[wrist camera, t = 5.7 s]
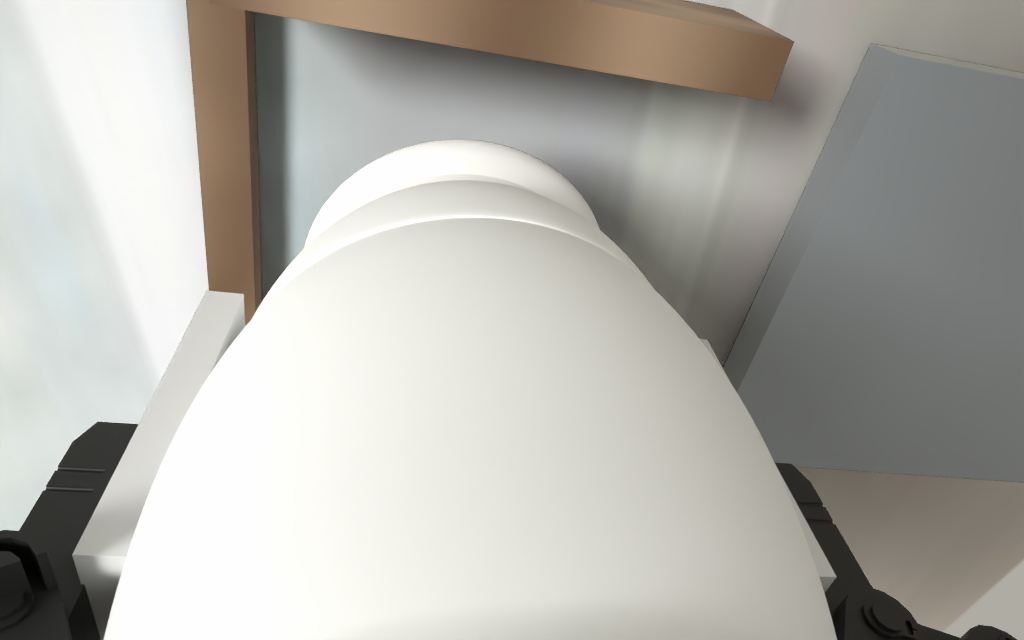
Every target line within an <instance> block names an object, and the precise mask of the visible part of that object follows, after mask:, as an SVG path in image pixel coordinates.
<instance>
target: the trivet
mask: <svg viewBox="0 0 1024 640" xmlns="http://www.w3.org/2000/svg"><path fill="white" fill-rule="evenodd" d="M723 369H724V371H725V373H726V375H727V377H728V379H729V380H730V382H731V384H732V386H733V387H734V389H735V390H736V392H737V394H738V395H739V397H740V399H741V400H742V402H743V404H744V405H745V407H746V409H747V410H748V412H749V414H750V416H751V418H752V419H753V421H754V423H755V425H756V427H757V429H758V430H759V432H760V434H761V436H762V438H763V440H764V442H765V444H766V446H767V448H768V450H769V452H770V454H771V456H772V458H773V461H774V463H788V464H792V465H793V466H794V467H807V468H821V469H836V470H850V471H865V472H879V473H893V474H908V475H922V476H937V477H951V478H966V479H980V480H994V481H1009V482H1023V483H1024V73H1021V72H1016V71H1011V70H1006V69H1001V68H996V67H991V66H985V65H980V64H975V63H970V62H965V61H960V60H955V59H950V58H945V57H940V56H934V55H929V54H924V53H919V52H914V51H909V50H904V49H899V48H894V47H889V46H883V45H878V44H873V43H871V44H870V47H869V49H868V51H867V53H866V55H865V58H864V60H863V62H862V64H861V66H860V69H859V71H858V73H857V75H856V77H855V80H854V82H853V84H852V86H851V88H850V91H849V93H848V95H847V97H846V99H845V101H844V104H843V106H842V108H841V110H840V112H839V115H838V117H837V119H836V121H835V123H834V126H833V128H832V130H831V132H830V134H829V137H828V139H827V141H826V143H825V145H824V148H823V150H822V152H821V154H820V156H819V159H818V161H817V163H816V165H815V167H814V169H813V172H812V174H811V176H810V178H809V180H808V183H807V185H806V187H805V189H804V191H803V194H802V196H801V198H800V200H799V202H798V205H797V207H796V209H795V211H794V213H793V216H792V218H791V220H790V222H789V224H788V227H787V229H786V231H785V233H784V235H783V238H782V240H781V242H780V244H779V246H778V248H777V251H776V253H775V255H774V257H773V259H772V262H771V264H770V266H769V268H768V270H767V273H766V275H765V277H764V279H763V281H762V284H761V286H760V288H759V290H758V292H757V295H756V297H755V299H754V301H753V303H752V306H751V308H750V310H749V312H748V314H747V316H746V319H745V321H744V323H743V325H742V327H741V330H740V332H739V334H738V336H737V338H736V341H735V343H734V345H733V347H732V349H731V352H730V354H729V356H728V358H727V360H726V363H725V365H724V367H723Z"/></svg>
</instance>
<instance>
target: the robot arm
mask: <svg viewBox="0 0 1024 640" xmlns="http://www.w3.org/2000/svg"><path fill="white" fill-rule="evenodd" d="M244 328H245V311H244V294H238V293H227V292H217V291H206V293H205V295H204V297H203V299H202V300H201V302H200V304H199V306H198V308H197V310H196V312H195V314H194V316H193V318H192V320H191V322H190V324H189V326H188V328H187V330H186V332H185V334H184V336H183V338H182V340H181V342H180V344H179V346H178V348H177V350H176V352H175V354H174V356H173V358H172V359H171V361H170V363H169V365H168V367H167V369H166V371H165V373H164V375H163V377H162V379H161V381H160V383H159V385H158V387H157V389H156V391H155V393H154V395H153V397H152V399H151V401H150V403H149V405H148V407H147V409H146V411H145V413H144V415H143V417H142V418H141V420H140V422H139V424H125V423H108V422H97V423H96V424H95V425H93V426H92V427H91V428H90V429H88V430H87V431H86V432H85V433H83V434H82V435H81V436H80V437H78V438H77V439H76V440H75V441H73V442H72V444H71V446H70V447H69V449H68V451H67V452H66V454H65V456H64V457H63V459H62V461H61V462H60V464H59V466H58V470H57V471H55V472H54V474H53V475H52V477H51V479H50V480H49V482H48V484H47V485H46V490H45V491H43V492H42V494H41V495H40V497H39V499H38V500H37V502H36V504H35V505H34V507H33V509H32V510H31V512H30V514H29V515H28V517H27V519H26V520H25V522H24V524H23V525H22V527H21V529H20V530H19V531H10V530H3V531H0V640H104V636H105V632H106V628H107V624H108V620H109V616H110V612H111V608H112V604H113V601H114V597H115V594H116V590H117V586H118V583H119V580H120V576H121V573H122V569H123V566H124V563H125V560H126V557H127V553H128V550H129V547H130V544H131V541H132V538H133V535H134V532H135V529H136V526H137V524H138V521H139V518H140V515H141V513H142V510H143V507H144V505H145V502H146V499H147V497H148V494H149V492H150V489H151V487H152V484H153V482H154V480H155V477H156V475H157V472H158V470H159V468H160V466H161V463H162V461H163V459H164V457H165V455H166V453H167V450H168V448H169V446H170V444H171V442H172V440H173V438H174V436H175V434H176V432H177V430H178V428H179V426H180V424H181V422H182V421H183V419H184V417H185V415H186V413H187V411H188V410H189V408H190V406H191V404H192V403H193V401H194V399H195V397H196V396H197V394H198V392H199V391H200V389H201V387H202V386H203V384H204V383H205V381H206V379H207V378H208V376H209V375H210V373H211V372H212V370H213V369H214V367H215V366H216V364H217V363H218V361H219V360H220V359H221V357H222V356H223V354H224V353H225V352H226V350H227V349H228V348H229V346H230V345H231V344H232V342H233V341H234V340H235V339H236V337H237V336H238V335H239V334H240V332H241V331H242V330H243V329H244ZM700 340H701V342H702V343H703V344H704V346H705V347H706V348H707V349H708V351H709V352H710V354H711V355H712V356H713V358H714V359H715V360H716V362H717V363H718V365H719V366H720V368H721V369H722V370H723V372H724V373H725V371H724V369H723V368H722V366H721V364H720V362H719V360H718V358H717V357H716V355H715V353H714V351H713V349H712V347H711V346H710V344H709V342H708V340H707V339H700ZM725 375H726V373H725ZM726 376H727V375H726ZM727 378H728V377H727ZM729 381H730V380H729ZM730 383H731V382H730ZM775 465H776V467H777V469H778V471H779V474H780V476H781V478H782V480H783V483H784V485H785V487H786V490H787V492H788V494H789V497H790V499H791V502H792V504H793V506H794V509H795V511H796V514H797V517H798V519H799V522H800V524H801V527H802V529H803V532H804V535H805V537H806V540H807V543H808V546H809V548H810V551H811V554H812V557H813V560H814V563H815V566H816V569H817V572H818V575H819V578H820V581H821V584H822V587H823V590H824V593H825V597H826V600H827V603H828V607H829V610H830V614H831V618H832V621H833V625H834V629H835V633H836V637H837V640H1017V639H1015V638H1013V637H1012V636H1011V635H1009V634H1008V633H1006V632H1004V631H1001V630H999V629H997V628H994V627H992V626H983V625H978V626H976V627H973V628H971V629H970V630H969V631H968V632H966V633H965V634H964V635H963V636H962V637H961V638H959V637H956V636H952V635H950V634H946V633H944V632H941V631H938V630H935V629H932V628H929V627H925V626H922V625H920V624H917V622H916V621H915V619H914V618H913V616H912V615H911V613H910V612H909V611H908V610H907V609H906V608H905V607H904V606H903V605H902V604H900V603H899V602H898V601H897V600H896V599H894V598H892V597H891V596H889V595H887V594H886V593H884V592H882V591H879V590H876V589H873V588H872V586H871V585H870V583H869V581H868V580H867V578H866V576H865V575H864V573H863V571H862V569H861V568H860V566H859V564H858V563H857V561H856V559H855V557H854V556H853V554H852V552H851V551H850V549H849V547H848V545H847V544H846V542H845V540H844V539H843V537H842V535H841V534H840V532H839V530H838V528H837V527H836V525H835V524H833V523H832V521H833V520H832V518H831V516H830V515H829V513H828V511H827V510H826V508H825V507H823V506H822V504H823V503H822V501H821V499H820V498H819V496H818V494H817V493H816V491H815V489H814V487H813V486H812V484H811V482H810V481H809V480H808V479H806V478H805V477H804V476H803V475H802V474H801V473H800V472H799V471H798V470H797V469H796V468H795V467H794V466H793V465H792V464H788V463H775Z"/></svg>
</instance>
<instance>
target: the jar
mask: <svg viewBox="0 0 1024 640" xmlns="http://www.w3.org/2000/svg"><path fill="white" fill-rule="evenodd" d="M104 640H837V637H836V633H835V629H834V625H833V621H832V618H831V614H830V610H829V607H828V603H827V600H826V597H825V593H824V590H823V587H822V584H821V581H820V578H819V575H818V572H817V569H816V566H815V563H814V560H813V557H812V554H811V551H810V548H809V546H808V543H807V540H806V537H805V535H804V532H803V529H802V527H801V524H800V522H799V519H798V517H797V514H796V511H795V509H794V506H793V504H792V502H791V499H790V497H789V494H788V492H787V490H786V487H785V485H784V483H783V480H782V478H781V476H780V474H779V471H778V469H777V467H776V465H775V463H774V461H773V458H772V456H771V454H770V452H769V450H768V448H767V446H766V444H765V442H764V440H763V438H762V436H761V434H760V432H759V430H758V429H757V427H756V425H755V423H754V421H753V419H752V418H751V416H750V414H749V412H748V410H747V409H746V407H745V405H744V404H743V402H742V400H741V399H740V397H739V395H738V394H737V392H736V390H735V389H734V387H733V386H732V384H731V383H730V381H729V379H728V378H727V376H726V375H725V373H724V372H723V370H722V369H721V368H720V366H719V365H718V363H717V362H716V360H715V359H714V358H713V356H712V355H711V354H710V352H709V351H708V349H707V348H706V347H705V346H704V344H703V343H702V342H701V340H700V339H699V338H698V337H697V335H696V334H695V333H694V332H693V330H692V329H691V328H690V327H689V326H688V324H687V323H686V322H685V321H684V320H683V319H682V318H681V316H680V315H679V314H678V313H677V312H676V311H675V310H674V309H673V308H672V307H671V306H670V304H669V303H668V302H667V301H666V300H665V299H664V298H663V297H662V296H661V295H660V294H659V293H658V292H657V291H655V290H654V288H653V287H652V286H651V284H650V283H649V282H648V280H647V279H646V278H645V276H644V275H643V274H642V272H641V271H640V270H639V269H638V268H637V266H636V265H635V264H634V263H633V262H632V261H631V259H630V258H629V257H628V256H627V255H626V254H625V253H624V252H623V251H622V250H621V249H620V248H619V247H618V246H617V245H616V244H615V243H614V242H613V241H612V240H611V239H610V238H609V237H607V236H606V235H605V234H604V233H603V232H602V231H600V229H599V226H598V223H597V221H596V219H595V217H594V214H593V213H592V211H591V209H590V207H589V206H588V204H587V203H586V201H585V200H584V198H583V197H582V196H581V194H580V193H579V192H578V191H577V189H576V188H575V187H574V186H573V185H572V184H571V183H570V182H569V181H568V180H567V179H566V178H565V177H563V176H562V175H561V174H560V173H559V172H557V171H556V170H555V169H553V168H552V167H550V166H549V165H547V164H546V163H544V162H542V161H541V160H539V159H537V158H535V157H533V156H531V155H529V154H527V153H525V152H522V151H519V150H517V149H514V148H511V147H508V146H504V145H500V144H496V143H491V142H485V141H477V140H463V139H457V140H440V141H431V142H426V143H421V144H417V145H413V146H409V147H406V148H402V149H399V150H397V151H394V152H392V153H389V154H387V155H385V156H383V157H381V158H379V159H377V160H375V161H373V162H371V163H369V164H368V165H366V166H365V167H363V168H362V169H360V170H359V171H357V172H356V173H355V174H353V175H352V176H351V177H350V178H348V179H347V180H346V181H345V182H344V183H343V184H342V185H341V186H340V187H339V188H338V189H337V190H336V191H335V192H334V193H333V194H332V195H331V196H330V198H329V199H328V200H327V201H326V203H325V204H324V205H323V207H322V208H321V210H320V212H319V213H318V215H317V217H316V219H315V220H314V222H313V224H312V227H311V229H310V231H309V234H308V237H307V240H306V243H305V247H304V249H303V250H302V251H301V252H300V253H299V254H298V255H297V257H296V258H295V259H294V260H293V261H292V262H291V263H290V264H289V266H288V267H287V268H286V269H285V270H284V272H283V273H282V274H281V275H280V277H279V278H278V279H277V281H276V282H275V283H274V285H273V286H272V288H271V289H270V290H269V292H268V293H267V295H266V296H265V298H264V299H263V301H262V302H261V304H260V306H259V307H258V309H257V311H256V312H255V314H254V316H253V318H252V319H251V321H250V322H249V323H248V324H247V325H246V326H245V328H244V329H243V330H242V331H241V332H240V334H239V335H238V336H237V337H236V339H235V340H234V341H233V342H232V344H231V345H230V346H229V348H228V349H227V350H226V352H225V353H224V354H223V356H222V357H221V359H220V360H219V361H218V363H217V364H216V366H215V367H214V369H213V370H212V372H211V373H210V375H209V376H208V378H207V379H206V381H205V383H204V384H203V386H202V387H201V389H200V391H199V392H198V394H197V396H196V397H195V399H194V401H193V403H192V404H191V406H190V408H189V410H188V411H187V413H186V415H185V417H184V419H183V421H182V422H181V424H180V426H179V428H178V430H177V432H176V434H175V436H174V438H173V440H172V442H171V444H170V446H169V448H168V450H167V453H166V455H165V457H164V459H163V461H162V463H161V466H160V468H159V470H158V472H157V475H156V477H155V480H154V482H153V484H152V487H151V489H150V492H149V494H148V497H147V499H146V502H145V505H144V507H143V510H142V513H141V515H140V518H139V521H138V524H137V526H136V529H135V532H134V535H133V538H132V541H131V544H130V547H129V550H128V553H127V557H126V560H125V563H124V566H123V569H122V573H121V576H120V580H119V583H118V586H117V590H116V594H115V597H114V601H113V604H112V608H111V612H110V616H109V620H108V624H107V628H106V632H105V636H104Z"/></svg>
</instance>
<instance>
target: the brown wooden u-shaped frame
mask: <svg viewBox="0 0 1024 640" xmlns="http://www.w3.org/2000/svg"><path fill="white" fill-rule="evenodd" d="M186 6H187V19H188V31H189V44H190V57H191V69H192V82H193V94H194V107H195V119H196V132H197V145H198V157H199V170H200V182H201V195H202V208H203V220H204V233H205V245H206V258H207V271H208V283H209V291H217V292H227V293H238V294H244V311H245V326H246V325H247V324H248V323H249V322H250V321H251V319H252V318H253V316H254V314H255V312H256V311H257V309H258V307H259V306H260V304H261V302H262V275H261V239H260V203H259V167H258V131H257V95H256V60H255V24H254V12H259V13H265V14H271V15H276V16H282V17H288V18H294V19H299V20H305V21H311V22H317V23H322V24H328V25H334V26H340V27H345V28H351V29H357V30H363V31H368V32H374V33H380V34H386V35H391V36H397V37H403V38H409V39H415V40H420V41H426V42H432V43H438V44H443V45H449V46H455V47H461V48H466V49H472V50H478V51H484V52H489V53H495V54H501V55H507V56H512V57H518V58H524V59H530V60H535V61H541V62H547V63H553V64H558V65H564V66H570V67H576V68H581V69H587V70H593V71H599V72H605V73H610V74H616V75H622V76H628V77H633V78H639V79H645V80H651V81H656V82H662V83H668V84H674V85H679V86H685V87H691V88H697V89H702V90H708V91H714V92H720V93H725V94H731V95H737V96H743V97H748V98H754V99H760V100H766V101H771V99H772V97H773V94H774V92H775V89H776V86H777V84H778V81H779V79H780V76H781V74H782V71H783V69H784V66H785V64H786V61H787V59H788V56H789V54H790V51H791V48H792V46H793V43H794V41H792V40H790V39H788V38H786V37H784V36H782V35H780V34H778V33H777V32H775V31H773V30H771V29H769V28H767V27H765V26H763V25H761V24H759V23H757V22H755V21H753V20H751V19H749V18H747V17H746V16H744V15H742V14H740V13H738V12H736V11H734V10H731V9H726V8H721V7H715V6H710V5H705V4H700V3H695V2H690V1H685V0H186Z"/></svg>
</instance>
